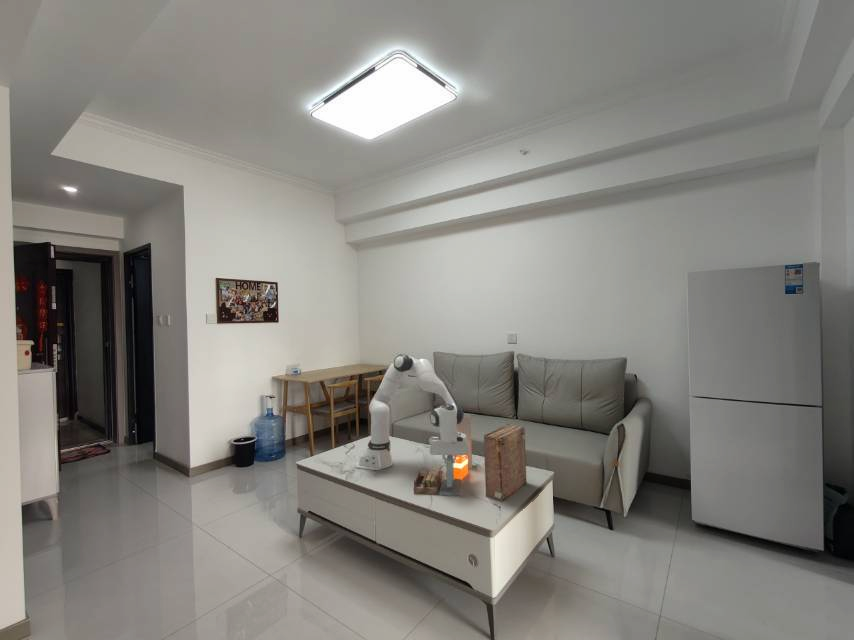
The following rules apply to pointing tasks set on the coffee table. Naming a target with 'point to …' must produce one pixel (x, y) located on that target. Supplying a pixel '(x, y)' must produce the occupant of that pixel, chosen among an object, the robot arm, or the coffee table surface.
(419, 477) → the rack
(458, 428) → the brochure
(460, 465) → the orange juice
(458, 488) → the mat
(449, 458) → the light blue slab
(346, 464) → the coffee table surface
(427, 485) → the offcut
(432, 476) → the offcut
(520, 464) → the book
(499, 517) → the coffee table surface
